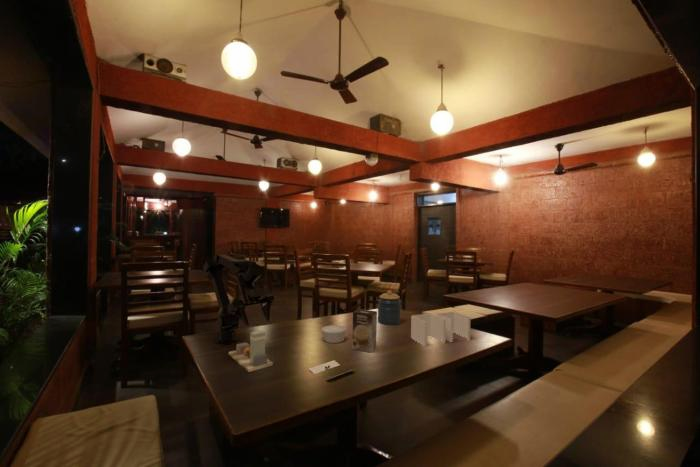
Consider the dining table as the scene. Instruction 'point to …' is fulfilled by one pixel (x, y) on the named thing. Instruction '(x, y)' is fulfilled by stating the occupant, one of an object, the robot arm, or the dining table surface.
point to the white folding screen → (439, 326)
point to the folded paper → (325, 367)
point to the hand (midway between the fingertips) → (258, 323)
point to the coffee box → (364, 330)
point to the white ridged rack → (245, 349)
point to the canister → (389, 309)
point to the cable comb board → (247, 361)
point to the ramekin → (334, 333)
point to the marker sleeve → (257, 344)
